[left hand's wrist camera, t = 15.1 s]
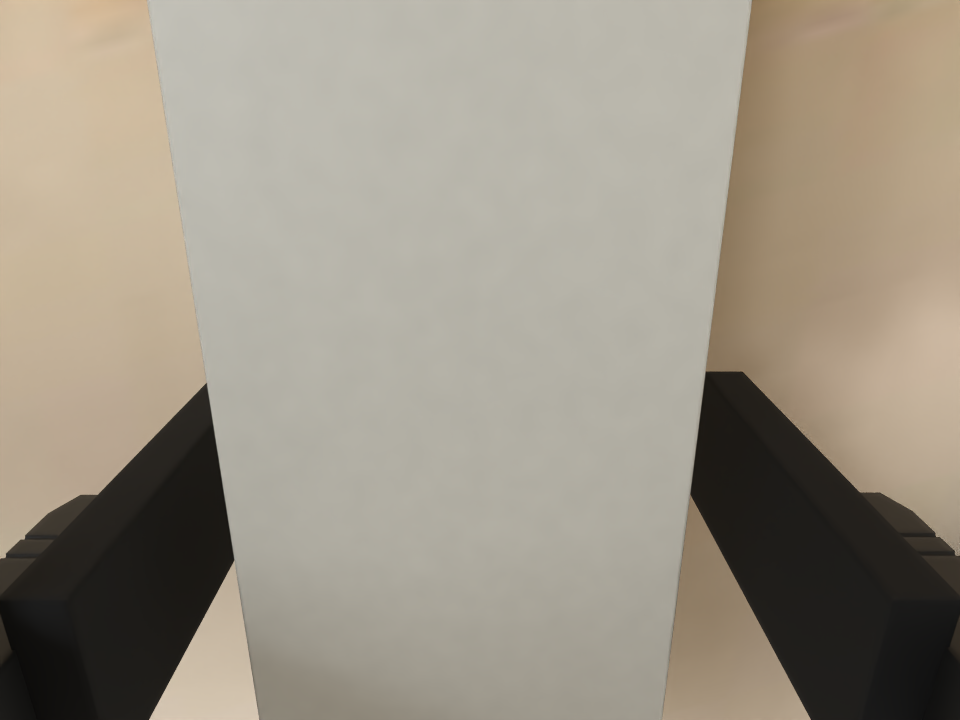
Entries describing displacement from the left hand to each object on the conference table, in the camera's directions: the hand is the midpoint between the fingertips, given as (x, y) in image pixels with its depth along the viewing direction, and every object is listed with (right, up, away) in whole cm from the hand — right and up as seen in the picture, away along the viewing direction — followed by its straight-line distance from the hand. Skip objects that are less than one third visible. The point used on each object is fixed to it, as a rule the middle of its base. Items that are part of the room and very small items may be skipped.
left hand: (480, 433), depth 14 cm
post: (0, +32, -9) cm, 34 cm away
